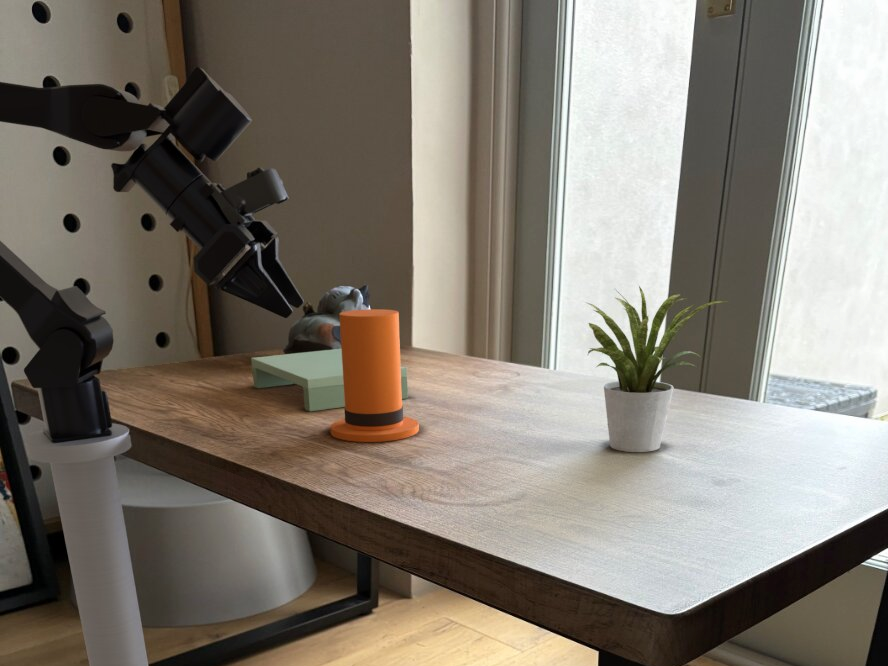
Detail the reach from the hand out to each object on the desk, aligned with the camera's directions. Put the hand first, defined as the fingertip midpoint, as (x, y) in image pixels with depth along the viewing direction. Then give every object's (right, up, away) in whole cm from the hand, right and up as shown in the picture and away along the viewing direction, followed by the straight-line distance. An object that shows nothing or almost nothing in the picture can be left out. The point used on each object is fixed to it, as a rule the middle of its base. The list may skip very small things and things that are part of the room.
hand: (295, 309), depth 101 cm
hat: (+8, -12, +4) cm, 16 cm away
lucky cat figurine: (-3, +7, +50) cm, 50 cm away
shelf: (0, -3, +26) cm, 26 cm away
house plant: (+38, -15, -3) cm, 41 cm away
